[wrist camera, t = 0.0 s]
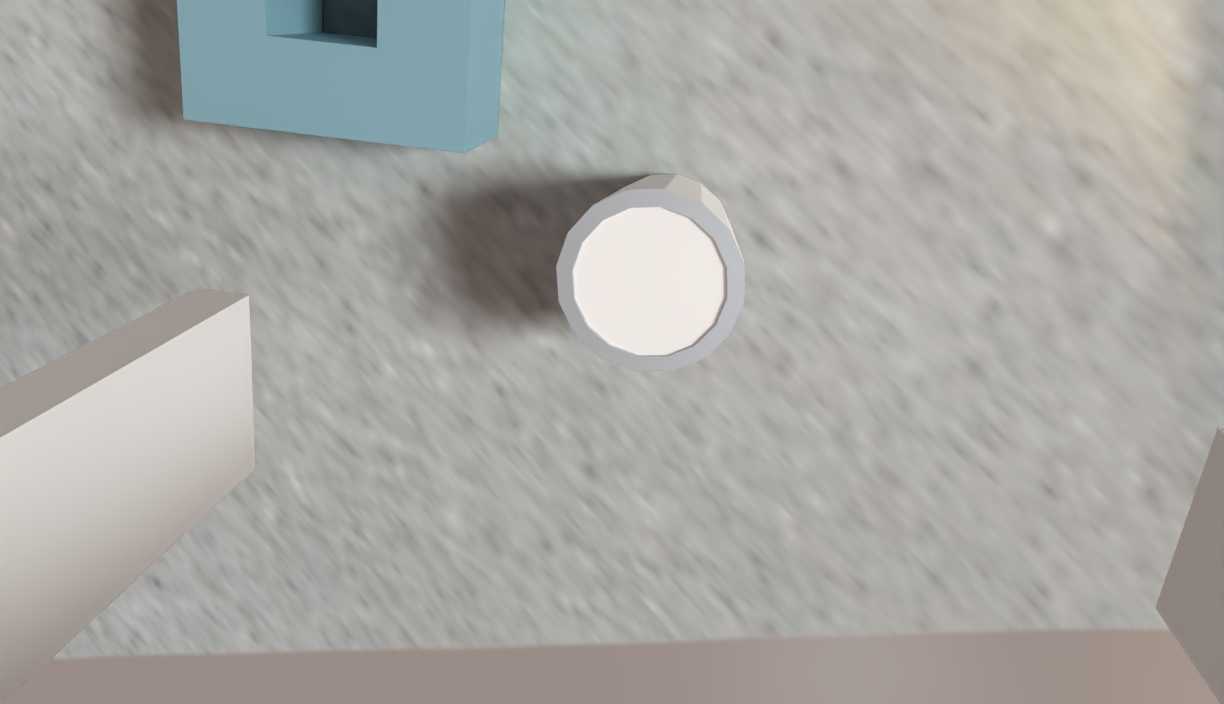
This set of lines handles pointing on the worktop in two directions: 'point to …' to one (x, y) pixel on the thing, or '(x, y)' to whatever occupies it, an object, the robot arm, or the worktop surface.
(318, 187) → the worktop surface
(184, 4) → the blue square hole block
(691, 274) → the white cylinder
